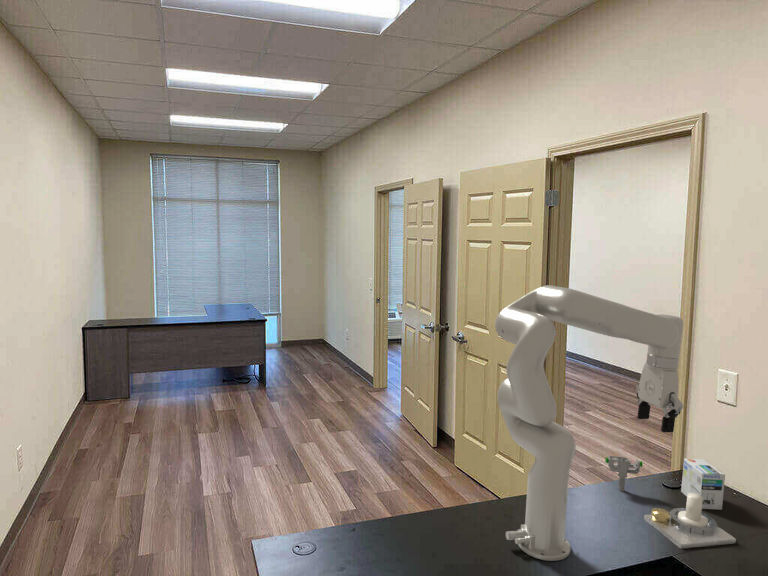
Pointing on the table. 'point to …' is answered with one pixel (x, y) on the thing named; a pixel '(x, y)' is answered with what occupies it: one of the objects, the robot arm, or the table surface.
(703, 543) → the carrier plate
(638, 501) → the table surface
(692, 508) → the white door knob
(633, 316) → the robot arm
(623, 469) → the mechanical component
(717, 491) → the light bulb box
